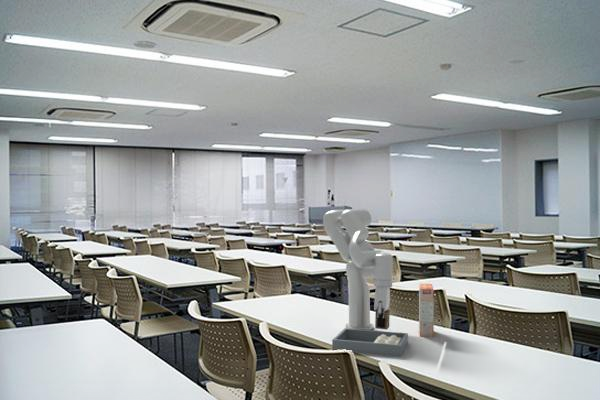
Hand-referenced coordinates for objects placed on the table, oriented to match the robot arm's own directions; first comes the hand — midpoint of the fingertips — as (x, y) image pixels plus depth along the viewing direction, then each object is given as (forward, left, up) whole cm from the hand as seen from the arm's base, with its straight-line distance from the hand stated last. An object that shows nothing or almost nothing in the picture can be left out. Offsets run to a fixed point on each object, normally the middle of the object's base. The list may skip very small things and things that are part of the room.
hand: (382, 324), depth 221 cm
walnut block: (0, 0, -1) cm, 1 cm away
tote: (+18, -1, -5) cm, 19 cm away
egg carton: (+18, +5, -4) cm, 19 cm away
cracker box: (-11, +17, -6) cm, 21 cm away
